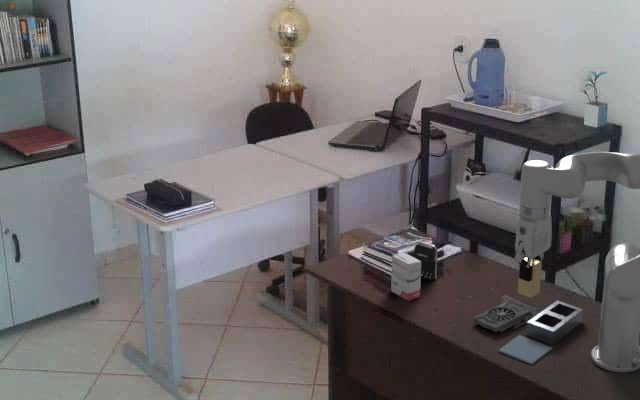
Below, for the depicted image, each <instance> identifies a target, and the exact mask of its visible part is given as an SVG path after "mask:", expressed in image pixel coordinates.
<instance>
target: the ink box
mask: <svg viewBox="0 0 640 400" xmlns="http://www.w3.org/2000/svg"><path fill="white" fill-rule="evenodd" d="M421 279H422V278H421V261H419V260H418V259H416V258H414V256H412V255H409V254H408V253H406V252H404V251H403V252H400V253H396V254H394V255H393V254H392V255H391V280H390V281H391V283H390V284H391V285H390V286H391V287H390V288H391V290H390V291H391V292H392V293H393V294H395V295H397V296H399V297H401V298H402V299H404V300H406V301H407V302H410V301H412V300H414V299H417V298H420V297H421Z"/></svg>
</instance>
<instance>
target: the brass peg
mask: <svg viewBox="0 0 640 400" xmlns="http://www.w3.org/2000/svg"><path fill="white" fill-rule="evenodd" d="M524 259H525V260H526V261H527V258H526V257H524ZM542 265H543V260H538V259H535V258H532V259H531V265H530V267H532V272H531V281H530V282H528V281H525V280H522V279H520V278H519V277H518V281H517V294H519V295H522V296H525V297H528V298H530V299H532V298H533V297H535V296H536V295H538V294H540V292H541V279H542V278H541V277H542V270H541V267H542V268H543V266H542ZM518 266H519V267H518V269H519V268H520V265H519V264H518Z"/></svg>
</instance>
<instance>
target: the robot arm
mask: <svg viewBox="0 0 640 400" xmlns="http://www.w3.org/2000/svg"><path fill="white" fill-rule="evenodd" d="M521 166H522V167H521V175H520V190H519V192H520V193H519V205H518V222H517V227H516V232H515V233H516V234H515V243H514V247H515V248H514V251H515V256H514V258H513V261H515V262H517V263H518V266H519V265H520V268H519V267H518V279H519V278H520V279H522V280H525V281H528V282H530V281H531V272H532V267H530V265H531V259H532V258H535V259H538V260H541V261H543V260H544V256H545V255H544V254H545V252H546V251H548V250H549V249H550V248H551V246H552V237H553V236H552V229H553V228H552V227H553V226H552V223H553V222H552V215H551V207H552V205H551V204H552V196H555V197H558V198H561V199H575V198H578V197H580V196H581V195H582V194H583V192H584V190H585V189H586V183H587V182H588V183H589V182H598V181H601V182H602V181H607V182H614V183H617V184H619V185H622V186H623V187H625V188H627V189H631V190H640V152H633V153H632V152H631V153H624V152H623V153H622V152H610V151H593V152H592V151H591V152H585V153H579V154H578V153H577V154H571V155H567V156H565V157H563V158H561V159H559V160H558V162H557V163H556V165H555V167H553V165H552V164H551V163H550V162H548V161H545V160H538V159H537V160H536V159H535V160H528V161H526V162H524V163H523V165H521ZM525 258H527V261H526V260H525ZM542 269H543V266H542V267H541V271H542ZM603 275H604V278H603V279H604V280H603V291H602V302H601V310H600V311H601V314H600V322H599V334H598V342H597V343H598V344H597V345H596V346H594V347H593V348H592V349H591V352H590V358H591V360H592V362H593V363H594V364H595V365H597V366H598V367H600V368H602V369H604V370H607V371H610V372H614V373H630V372H631V373H632V372H634V371H637V370H639V369H640V345H639V341H640V248H639V247H638V246H637V245H635V244H633V243H628V242H626V243H625V242H623V243H618V244H616V245H614V246H613V247H612V248H611V249H610V250H609V252H608V253H607V255H606V257H605V262H604V274H603Z"/></svg>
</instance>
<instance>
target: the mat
mask: <svg viewBox="0 0 640 400" xmlns="http://www.w3.org/2000/svg"><path fill="white" fill-rule="evenodd" d="M552 350H553V347H552V346H549V345H546V344H544V343H541V342H539V341H537V340H533V339H531V338H528V337H525V336H522V335H521V334H518V335H517V336H516V337H513V339H512V340H510V341H509V342H507V343H506V344H505V345H503V346H502V347H501V348H499V349H498V352H499V353H501V354H504V355H506V356H509V357H512V358H514V359H516V360H519V361H522V362H524V363H527V364H529V365H531V366H532V365H534V364H535V363H536V362H537V361H539V360H540V359H541V358H543V357H544V356H545V355H546V354H548V353H549V352H551V351H552Z"/></svg>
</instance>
